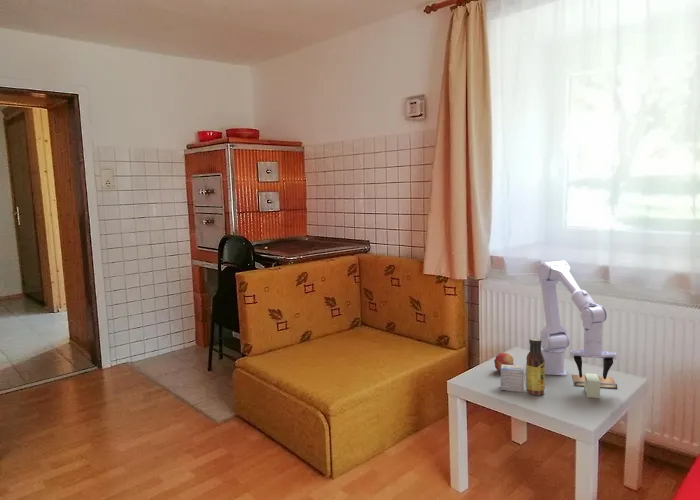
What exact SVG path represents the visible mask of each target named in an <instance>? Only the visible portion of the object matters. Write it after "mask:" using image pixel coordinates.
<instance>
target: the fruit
mask: <svg viewBox="0 0 700 500" xmlns="http://www.w3.org/2000/svg"><path fill="white" fill-rule="evenodd" d="M493 362H494V367H495V369H496V370H497V371H498V372H499V373H501V365H502V364H503V365H515V364H514V357H513V356H512V355H511V354H510V353H507V352H500V353H498V354H496V356H495V358H494V360H493Z"/></svg>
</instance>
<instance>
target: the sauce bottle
mask: <svg viewBox="0 0 700 500" xmlns="http://www.w3.org/2000/svg"><path fill="white" fill-rule="evenodd" d="M540 338H541V337H529V352H528V353H527V355H526V358H525V359H526V364H525V371H526V372H525V373H526V374H525V376H526V377H525V380H526V381H525V382H526V383H525V386H526V392H527V393H528V394H529V395H532V396H542V395H543V394H545V387H546V382H545V381H546V376H545V375H546V374H545V360H544V358H543V355H542V352H541V349H542V346H541V339H540Z"/></svg>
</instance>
